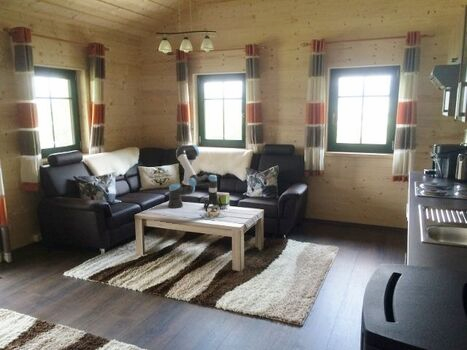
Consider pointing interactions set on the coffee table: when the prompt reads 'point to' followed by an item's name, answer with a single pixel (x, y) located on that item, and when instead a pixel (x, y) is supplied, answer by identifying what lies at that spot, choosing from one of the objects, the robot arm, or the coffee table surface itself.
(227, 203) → the tea box
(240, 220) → the coffee table surface
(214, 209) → the post base
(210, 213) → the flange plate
